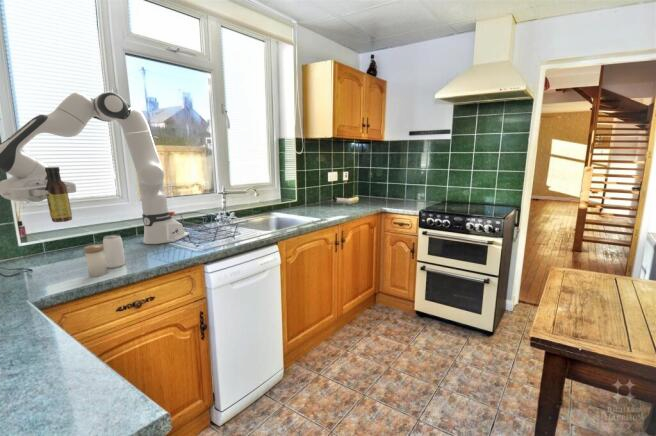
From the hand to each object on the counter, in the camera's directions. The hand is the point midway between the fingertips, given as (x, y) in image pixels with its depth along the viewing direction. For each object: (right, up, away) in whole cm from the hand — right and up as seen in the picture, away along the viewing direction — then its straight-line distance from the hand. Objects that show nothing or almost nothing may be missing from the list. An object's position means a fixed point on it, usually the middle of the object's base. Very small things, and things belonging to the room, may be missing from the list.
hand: (57, 191), depth 124 cm
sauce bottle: (-1, -11, +3) cm, 11 cm away
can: (+14, -29, +12) cm, 34 cm away
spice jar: (+13, -31, +3) cm, 33 cm away
